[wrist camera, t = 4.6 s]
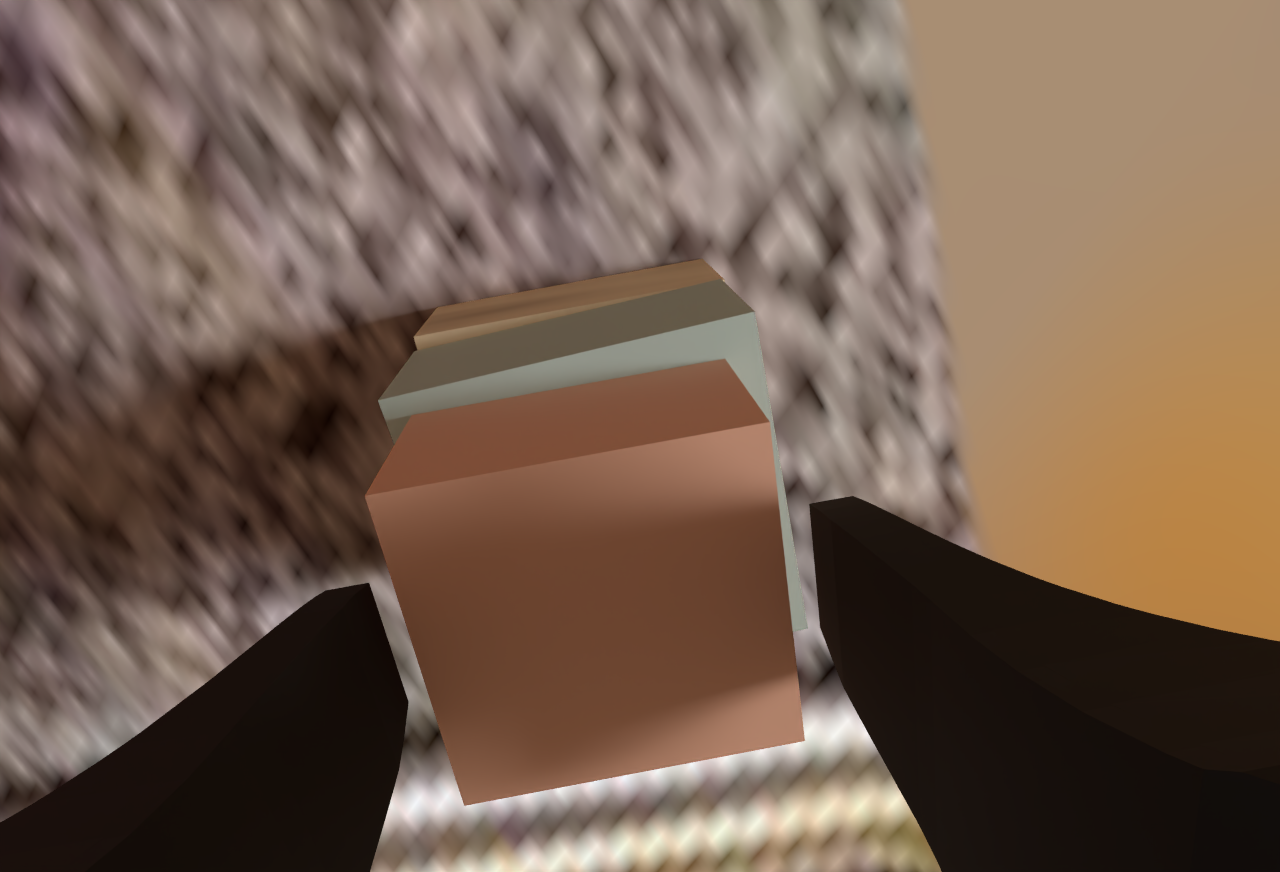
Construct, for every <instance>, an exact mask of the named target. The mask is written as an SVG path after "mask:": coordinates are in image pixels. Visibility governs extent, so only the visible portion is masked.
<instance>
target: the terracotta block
mask: <svg viewBox="0 0 1280 872" xmlns="http://www.w3.org/2000/svg"><path fill="white" fill-rule="evenodd" d="M365 498H366V502H367V505H368V508H369V511H370V514H371V517H372V520H373V523H374V526H375V530H376V533H377V536H378V539H379V542H380V545H381V548H382V551H383V554H384V558H385V561H386V564H387V567H388V570H389V573H390V576H391V579H392V582H393V586H394V589H395V592H396V595H397V598H398V601H399V604H400V607H401V610H402V614H403V617H404V620H405V623H406V626H407V629H408V632H409V635H410V638H411V641H412V645H413V648H414V651H415V654H416V657H417V660H418V663H419V666H420V669H421V673H422V676H423V679H424V682H425V685H426V688H427V691H428V694H429V697H430V701H431V704H432V707H433V710H434V713H435V716H436V719H437V722H438V725H439V729H440V732H441V735H442V738H443V741H444V744H445V747H446V750H447V753H448V756H449V760H450V763H451V766H452V769H453V772H454V775H455V778H456V781H457V784H458V788H459V791H460V794H461V797H462V800H463V803H464V806H465V805H471V804H476V803H481V802H486V801H492V800H497V799H502V798H507V797H513V796H518V795H523V794H528V793H534V792H539V791H544V790H549V789H555V788H560V787H565V786H570V785H576V784H581V783H586V782H591V781H597V780H602V779H607V778H612V777H618V776H623V775H628V774H633V773H639V772H644V771H649V770H654V769H660V768H665V767H670V766H675V765H681V764H686V763H691V762H696V761H702V760H707V759H712V758H717V757H723V756H728V755H733V754H738V753H743V752H749V751H754V750H759V749H764V748H770V747H775V746H780V745H785V744H791V743H796V742H801V741H805V739H804V730H803V721H802V711H801V702H800V693H799V684H798V675H797V666H796V656H795V647H794V638H793V629H792V620H791V611H790V601H789V592H788V583H787V574H786V565H785V556H784V546H783V537H782V528H781V519H780V510H779V501H778V491H777V482H776V473H775V464H774V455H773V446H772V436H771V427H770V421H769V420H768V419H767V417H766V416H765V414H764V413H763V411H762V410H761V409H760V407H759V406H758V404H757V403H756V402H755V400H754V399H753V397H752V396H751V395H750V393H749V392H748V390H747V389H746V387H745V386H744V385H743V383H742V382H741V380H740V379H739V378H738V376H737V375H736V373H735V372H734V370H733V369H732V368H731V366H730V365H729V363H728V362H727V361H726V359H720V360H715V361H709V362H704V363H698V364H693V365H687V366H681V367H676V368H670V369H665V370H659V371H654V372H648V373H642V374H637V375H631V376H626V377H620V378H615V379H609V380H603V381H598V382H592V383H587V384H581V385H576V386H570V387H564V388H559V389H553V390H548V391H542V392H537V393H531V394H525V395H520V396H514V397H509V398H503V399H498V400H492V401H487V402H481V403H476V404H470V405H465V406H459V407H454V408H448V409H442V410H437V411H431V412H426V413H420V414H415V415H411V417H410V419H409V421H408V422H407V424H406V426H405V427H404V429H403V431H402V433H401V434H400V436H399V438H398V439H397V441H396V443H395V445H394V446H393V448H392V450H391V451H390V453H389V455H388V457H387V458H386V460H385V462H384V464H383V465H382V467H381V469H380V470H379V472H378V474H377V476H376V477H375V479H374V481H373V482H372V484H371V486H370V488H369V489H368V491H367V493H366V494H365Z"/></svg>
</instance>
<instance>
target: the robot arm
mask: <svg viewBox="0 0 1280 872" xmlns="http://www.w3.org/2000/svg"><path fill="white" fill-rule="evenodd" d="M809 506H810V517H811V528H812V540H813V551H814V562H815V574H816V585H817V596H818V607H819V619H820V628H821V631H822V633H823V636H824V638H825V641H826V644H827V646H828V649H829V652H830V654H831V657H832V660H833V662H834V665H835V667H836V670H837V672H838V675H839V677H840V680H841V682H842V685H843V687H844V689H845V691H846V693H847V695H848V697H849V699H850V700H851V702H852V704H853V706H854V708H855V710H856V712H857V713H858V715H859V717H860V719H861V721H862V723H863V724H864V726H865V728H866V730H867V732H868V734H869V735H870V737H871V739H872V741H873V743H874V744H875V746H876V748H877V750H878V752H879V753H880V755H881V757H882V759H883V761H884V762H885V764H886V766H887V768H888V770H889V771H890V773H891V775H892V777H893V779H894V781H895V782H896V784H897V786H898V788H899V790H900V791H901V793H902V795H903V797H904V799H905V800H906V802H907V804H908V806H909V808H910V809H911V811H912V813H913V815H914V817H915V818H916V820H917V822H918V824H919V826H920V828H921V830H922V832H923V834H924V836H925V838H926V840H927V842H928V844H929V846H930V848H931V850H932V852H933V854H934V856H935V858H936V860H937V862H938V864H939V866H940V868H941V871H942V872H1280V641H1274V640H1268V639H1263V638H1258V637H1253V636H1248V635H1243V634H1238V633H1233V632H1228V631H1223V630H1218V629H1214V628H1209V627H1205V626H1201V625H1197V624H1193V623H1188V622H1184V621H1180V620H1176V619H1172V618H1167V617H1163V616H1159V615H1155V614H1151V613H1147V612H1143V611H1140V610H1136V609H1132V608H1128V607H1125V606H1121V605H1118V604H1114V603H1111V602H1108V601H1105V600H1102V599H1099V598H1095V597H1092V596H1089V595H1086V594H1082V593H1080V592H1076V591H1073V590H1070V589H1067V588H1064V587H1061V586H1058V585H1055V584H1052V583H1049V582H1046V581H1044V580H1040V579H1038V578H1035V577H1033V576H1030V575H1027V574H1025V573H1022V572H1020V571H1018V570H1015V569H1012V568H1010V567H1007V566H1005V565H1002V564H1000V563H998V562H995V561H992V560H990V559H988V558H985V557H983V556H981V555H978V554H976V553H974V552H972V551H969V550H967V549H965V548H963V547H960V546H958V545H956V544H954V543H952V542H949V541H947V540H945V539H943V538H941V537H939V536H937V535H934V534H932V533H930V532H928V531H926V530H924V529H922V528H920V527H918V526H916V525H914V524H912V523H910V522H908V521H906V520H904V519H902V518H900V517H898V516H895V515H893V514H891V513H889V512H887V511H885V510H883V509H881V508H879V507H877V506H875V505H873V504H871V503H868V502H866V501H864V500H862V499H859V498H856V497H854V496H851V497H845V498H839V499H834V500H828V501H823V502H817V503H812V504H809ZM407 710H408V699H407V696H406V693H405V690H404V687H403V684H402V681H401V678H400V675H399V672H398V669H397V666H396V663H395V660H394V657H393V654H392V651H391V648H390V645H389V642H388V639H387V636H386V633H385V629H384V626H383V623H382V620H381V617H380V614H379V611H378V608H377V605H376V602H375V599H374V596H373V593H372V590H371V587H370V584H369V583H365V584H360V585H354V586H349V587H343V588H337V589H332V590H326V591H324V592H322V593H321V594H319V595H318V596H316V597H314V598H313V599H312V600H310V601H309V602H307V603H306V604H305V605H303V606H302V607H301V608H299V609H298V610H297V611H295V612H294V613H293V614H291V615H290V616H289V617H288V618H286V619H285V620H284V621H283V622H281V623H280V624H279V625H278V626H276V627H275V628H274V629H273V630H271V631H270V632H269V633H268V634H266V635H265V636H264V637H263V638H262V639H260V640H259V641H258V642H257V643H255V644H254V645H253V646H252V647H250V648H249V649H248V650H247V651H245V652H244V653H243V654H242V655H240V656H239V657H238V658H237V659H236V660H234V661H233V662H232V663H231V664H229V665H228V666H227V667H226V668H224V669H223V670H222V671H221V672H219V673H218V674H217V675H216V676H214V677H213V678H212V679H211V680H209V681H208V682H207V683H205V684H204V685H203V686H201V687H200V688H199V689H198V690H196V691H195V692H194V693H192V694H191V695H190V696H188V697H187V698H186V699H184V700H183V701H182V702H180V703H179V704H178V705H176V706H175V707H174V708H172V709H171V710H170V711H168V712H167V713H166V714H164V715H163V716H162V717H160V718H159V719H158V720H156V721H155V722H154V723H153V724H151V725H150V726H149V727H147V728H146V729H145V730H143V731H142V732H141V733H139V734H138V735H136V736H135V737H134V738H132V739H131V740H129V741H128V742H126V743H125V744H124V745H122V746H121V747H119V748H118V749H116V750H115V751H113V752H112V753H111V754H109V755H108V756H106V757H105V758H103V759H102V760H100V761H99V762H97V763H96V764H94V765H93V766H91V767H90V768H88V769H87V770H85V771H84V772H82V773H80V774H79V775H77V776H76V777H74V778H73V779H71V780H70V781H68V782H67V783H65V784H63V785H62V786H60V787H59V788H57V789H56V790H54V791H53V792H51V793H50V794H48V795H46V796H45V797H43V798H41V799H40V800H38V801H37V802H35V803H33V804H32V805H30V806H28V807H27V808H25V809H23V810H21V811H20V812H18V813H16V814H14V815H13V816H11V817H9V818H8V819H6V820H4V821H2V822H1V823H0V872H370V869H371V866H372V862H373V859H374V856H375V852H376V849H377V845H378V842H379V839H380V835H381V832H382V828H383V825H384V821H385V818H386V814H387V811H388V807H389V804H390V800H391V797H392V793H393V790H394V786H395V782H396V779H397V775H398V771H399V766H400V760H401V754H402V748H403V741H404V734H405V726H406V718H407Z"/></svg>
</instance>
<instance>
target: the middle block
mask: <svg viewBox="0 0 1280 872" xmlns="http://www.w3.org/2000/svg"><path fill="white" fill-rule="evenodd" d="M720 359H726V361H727V362H728V363H729V365H730V366H731V368H732V369H733V370H734V372H735V373H736V375H737V376H738V378H739V379H740V380H741V382H742V383H743V385H744V386H745V387H746V389H747V390H748V392H749V393H750V395H751V396H752V397H753V399H754V400H755V402H756V403H757V404H758V406H759V407H760V409H761V410H762V411H763V413H764V414H765V416H766V417H767V419H768V420H769V421H770V427H771V436H772V446H773V455H774V464H775V473H776V482H777V491H778V501H779V510H780V519H781V528H782V537H783V546H784V556H785V565H786V574H787V583H788V592H789V601H790V611H791V620H792V629H793V632H794V631H798V630H803V629H807V628H808V626H807V620H806V614H805V608H804V602H803V596H802V590H801V585H800V579H799V573H798V567H797V561H796V555H795V549H794V543H793V537H792V531H791V525H790V519H789V513H788V507H787V501H786V495H785V489H784V483H783V477H782V471H781V465H780V459H779V453H778V448H777V442H776V436H775V430H774V424H773V418H772V412H771V406H770V400H769V394H768V388H767V382H766V376H765V370H764V364H763V358H762V352H761V346H760V340H759V334H758V328H757V322H756V316H755V311H754V310H753V309H751V308H750V307H749V306H748V305H747V304H746V303H745V302H744V301H743V300H742V299H741V298H740V297H739V296H738V295H737V294H736V293H735V292H734V291H733V290H732V289H731V288H730V287H729V286H728V285H727V284H726V283H725V282H724V281H723V280H721V279H718V280H714V281H709V282H705V283H701V284H697V285H693V286H688V287H684V288H680V289H676V290H671V291H667V292H663V293H659V294H654V295H650V296H646V297H642V298H638V299H633V300H629V301H625V302H621V303H616V304H612V305H608V306H604V307H599V308H595V309H591V310H587V311H582V312H578V313H574V314H570V315H566V316H561V317H557V318H553V319H549V320H544V321H540V322H536V323H532V324H527V325H523V326H519V327H515V328H510V329H506V330H502V331H498V332H494V333H489V334H485V335H481V336H477V337H472V338H468V339H464V340H460V341H455V342H451V343H447V344H443V345H439V346H434V347H430V348H426V349H422V350H417V351H414V352H413V354H412V355H411V356H410V358H409V359H408V361H407V362H406V363H405V365H404V366H403V367H402V369H401V370H400V371H399V373H398V374H397V375H396V377H395V378H394V379H393V381H392V382H391V383H390V385H389V386H388V388H387V389H386V390H385V392H384V393H383V394H382V396H381V397H380V398H379V400H378V402H379V405H380V408H381V410H382V413H383V416H384V419H385V421H386V424H387V427H388V430H389V432H390V435H391V438H392V440H393V443H394V445H395V443H396V441H397V439H398V438H399V436H400V434H401V433H402V431H403V429H404V427H405V426H406V424H407V422H408V421H409V419H410V417H411V415H415V414H420V413H426V412H431V411H437V410H442V409H448V408H454V407H459V406H465V405H470V404H476V403H481V402H487V401H492V400H498V399H503V398H509V397H514V396H520V395H525V394H531V393H537V392H542V391H548V390H553V389H559V388H564V387H570V386H576V385H581V384H587V383H592V382H598V381H603V380H609V379H615V378H620V377H626V376H631V375H637V374H642V373H648V372H654V371H659V370H665V369H670V368H676V367H681V366H687V365H693V364H698V363H704V362H709V361H715V360H720Z"/></svg>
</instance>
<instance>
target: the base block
mask: <svg viewBox="0 0 1280 872" xmlns="http://www.w3.org/2000/svg"><path fill="white" fill-rule="evenodd" d="M718 279H721V280H723V281H724V282H725V280H724V279H723V278H722V277H721V276H720V275H719V274H718V273H717V272H716V271H715V270H714V269H713V268H712V267H710V266H709V265H708V264H707V263H706V262H705V261H704V260H703V259H698V260H692V261H687V262H681V263H676V264H670V265H665V266H660V267H654V268H649V269H643V270H638V271H632V272H627V273H621V274H616V275H610V276H605V277H600V278H594V279H589V280H583V281H578V282H572V283H567V284H561V285H556V286H551V287H545V288H540V289H534V290H529V291H523V292H518V293H512V294H507V295H502V296H496V297H491V298H485V299H480V300H474V301H469V302H463V303H458V304H453V305H447V306H442V307H437V308H436V309H435V311H434V312H433V313H432V314H431V316H430V317H429V318H428V319H427V321H426V322H425V323H424V324H423V326H422V327H421V328H420V329H419V331H418V332H417V333H416V334H415V336H414V340H415V344H416V347H417V350H422V349H426V348H430V347H434V346H439V345H443V344H447V343H451V342H455V341H460V340H464V339H468V338H472V337H477V336H481V335H485V334H489V333H494V332H498V331H502V330H506V329H510V328H515V327H519V326H523V325H527V324H532V323H536V322H540V321H544V320H549V319H553V318H557V317H561V316H566V315H570V314H574V313H578V312H582V311H587V310H591V309H595V308H599V307H604V306H608V305H612V304H616V303H621V302H625V301H629V300H633V299H638V298H642V297H646V296H650V295H654V294H659V293H663V292H667V291H671V290H676V289H680V288H684V287H688V286H693V285H697V284H701V283H705V282H709V281H714V280H718Z"/></svg>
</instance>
